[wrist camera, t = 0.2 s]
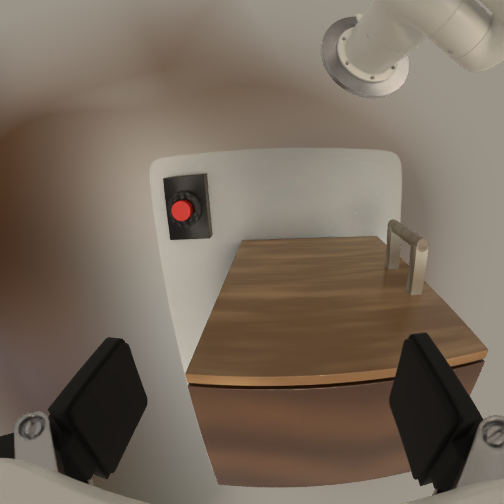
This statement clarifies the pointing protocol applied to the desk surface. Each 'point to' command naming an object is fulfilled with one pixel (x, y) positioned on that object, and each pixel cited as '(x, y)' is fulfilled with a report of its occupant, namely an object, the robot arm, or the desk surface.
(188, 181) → the button block
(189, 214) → the button
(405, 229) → the cupboard door
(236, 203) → the desk surface
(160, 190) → the desk surface
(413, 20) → the robot arm
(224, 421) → the cupboard
